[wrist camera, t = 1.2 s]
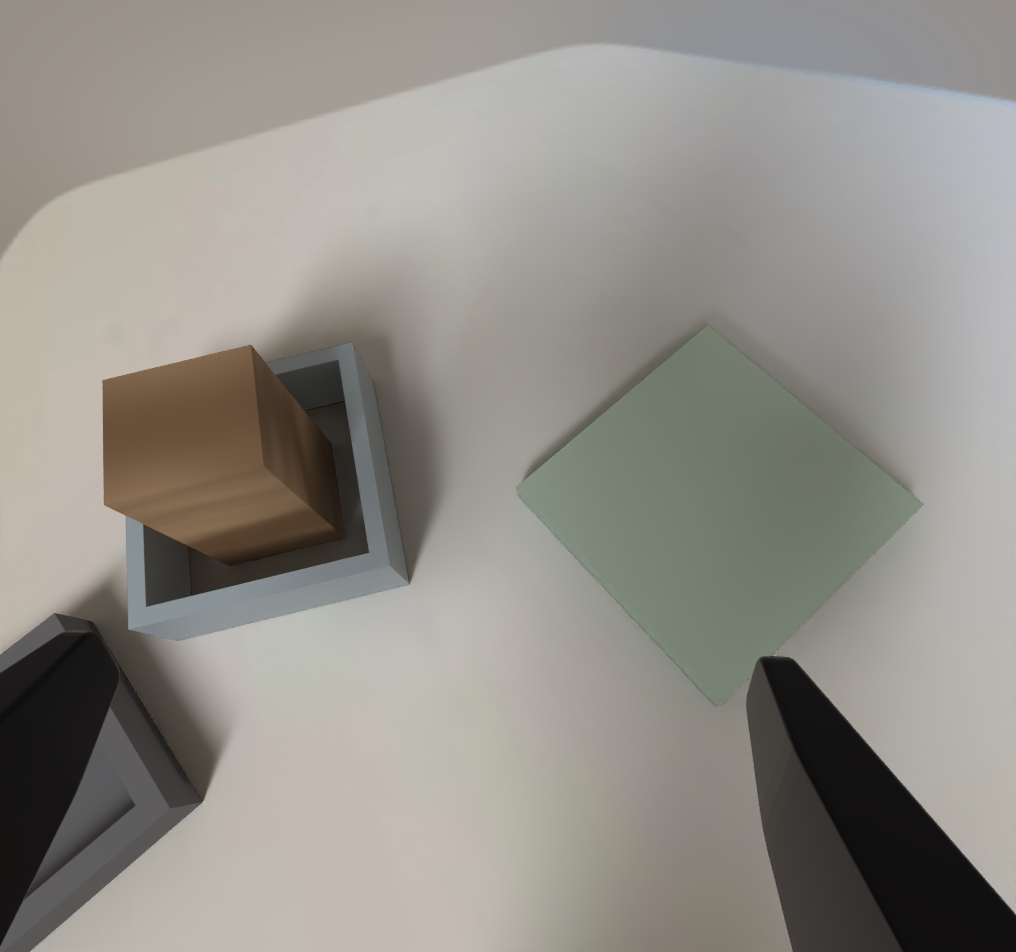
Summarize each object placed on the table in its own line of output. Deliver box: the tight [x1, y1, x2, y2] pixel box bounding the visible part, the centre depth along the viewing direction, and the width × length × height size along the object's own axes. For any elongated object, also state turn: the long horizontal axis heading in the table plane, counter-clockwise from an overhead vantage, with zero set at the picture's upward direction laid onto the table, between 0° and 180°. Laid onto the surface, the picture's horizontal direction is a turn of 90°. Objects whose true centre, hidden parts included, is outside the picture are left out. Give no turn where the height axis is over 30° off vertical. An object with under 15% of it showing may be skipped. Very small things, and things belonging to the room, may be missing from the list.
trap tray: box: [0, 613, 202, 952], centre depth 22 cm, size 8×8×2 cm
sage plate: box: [516, 325, 923, 705], centre depth 24 cm, size 10×10×1 cm
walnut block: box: [103, 345, 345, 566], centre depth 23 cm, size 4×4×8 cm
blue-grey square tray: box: [126, 342, 409, 641], centre depth 25 cm, size 9×9×3 cm
